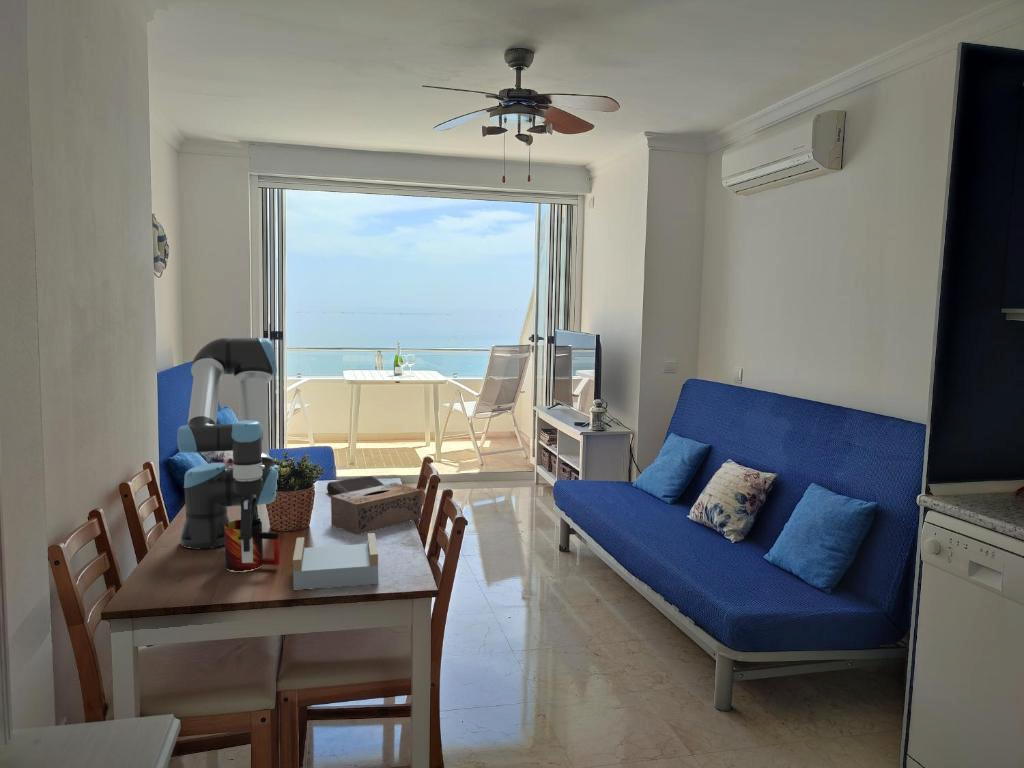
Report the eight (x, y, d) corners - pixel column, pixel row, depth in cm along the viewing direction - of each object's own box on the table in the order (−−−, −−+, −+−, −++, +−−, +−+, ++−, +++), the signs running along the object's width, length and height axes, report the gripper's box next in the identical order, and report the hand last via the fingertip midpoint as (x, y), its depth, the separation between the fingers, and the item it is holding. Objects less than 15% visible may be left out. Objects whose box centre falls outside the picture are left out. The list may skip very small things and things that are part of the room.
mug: (279, 569, 201) (278, 526, 200) (225, 574, 197) (223, 531, 195) (278, 557, 210) (277, 516, 209) (226, 562, 206) (224, 520, 204)
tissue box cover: (395, 510, 260) (395, 482, 259) (421, 518, 250) (421, 489, 249) (331, 525, 241) (330, 495, 240) (357, 535, 231) (356, 504, 230)
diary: (347, 510, 261) (347, 496, 260) (327, 494, 282) (326, 481, 282) (397, 502, 270) (397, 489, 270) (373, 487, 292) (373, 475, 291)
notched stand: (293, 590, 186) (292, 559, 185) (297, 566, 203) (296, 537, 203) (378, 584, 191) (377, 554, 190) (375, 560, 208) (374, 532, 207)
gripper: (257, 488, 190) (260, 568, 192) (267, 467, 214) (269, 539, 216) (226, 489, 188) (229, 570, 190) (239, 468, 212) (241, 540, 214)
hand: (250, 554), depth 203 cm, fingers open, 13 cm apart
